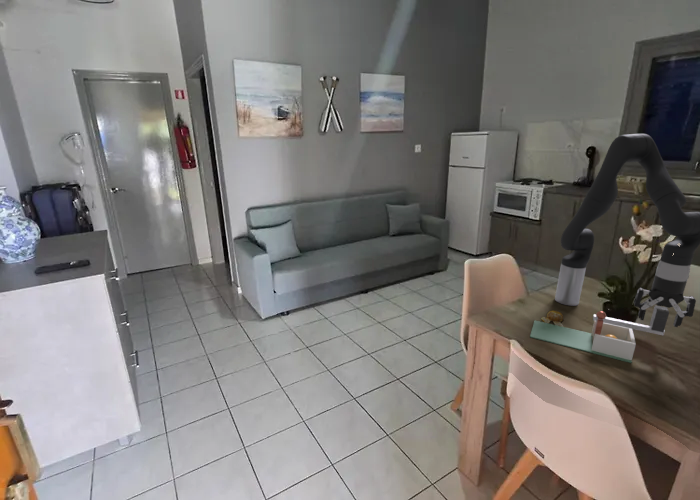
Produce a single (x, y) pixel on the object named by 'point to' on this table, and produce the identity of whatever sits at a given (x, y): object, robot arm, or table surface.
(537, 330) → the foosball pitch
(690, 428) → the table surface
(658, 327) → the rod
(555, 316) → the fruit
